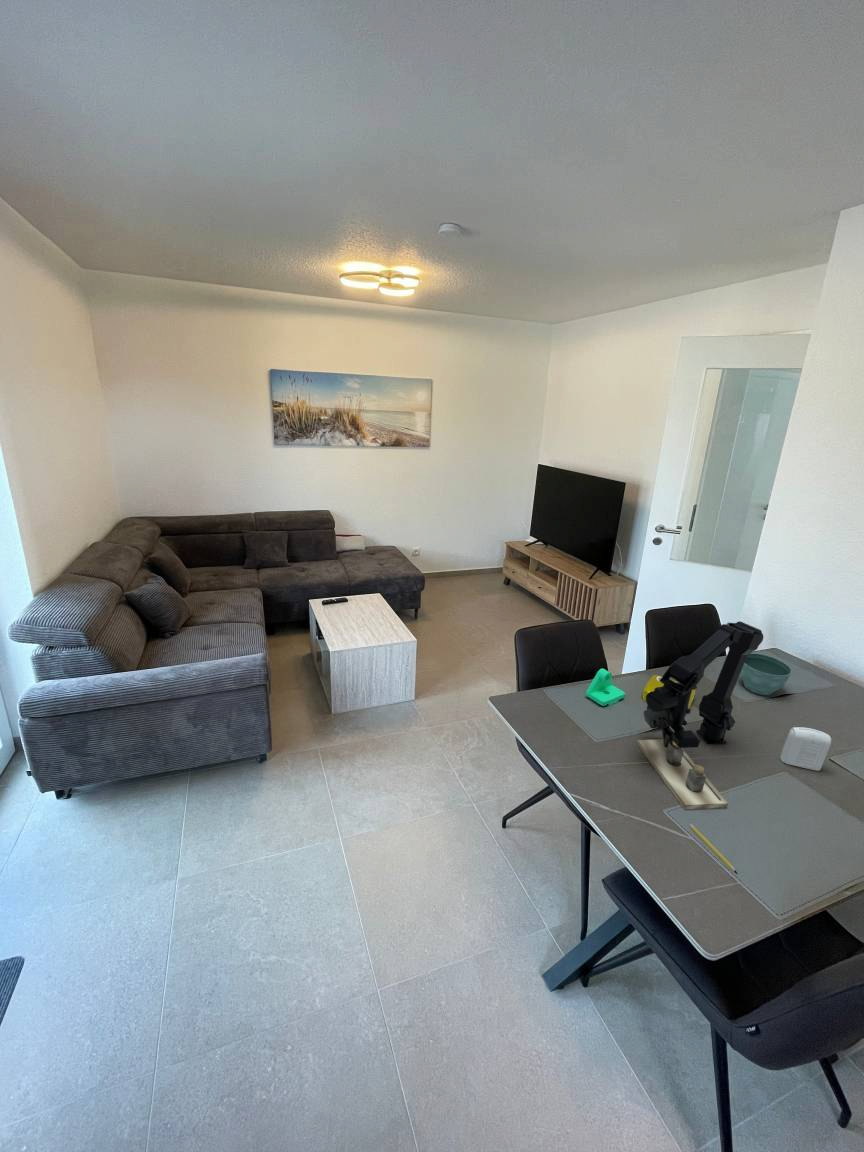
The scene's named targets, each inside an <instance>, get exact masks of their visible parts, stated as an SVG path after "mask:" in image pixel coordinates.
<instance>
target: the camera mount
mask: <svg viewBox="0 0 864 1152" xmlns="http://www.w3.org/2000/svg"><path fill="white" fill-rule="evenodd" d="M612 678H613V673H612V672H610V671H608V670H606V669H605V668H600V669H599V670H598V671H597V672H596V674H595V676H594V677H593V679H592V681H591V683H590V684H589V687H588V689H586V692H585V696H586V697H587V698H589V699H591V700H592V701H594V702H595V703H597V704H599V705H600V706H603V707H605V706H609V705H610V706H612V705H614V704H613V703H615V704H617V703H619V700H622V699H624V698H625V696H626V695H625V694H626V693H625V691H623V690H622V689H620V688H618V687H616V686H615V685H613V682H612ZM616 702H617V703H616ZM607 704H608V705H607ZM611 704H612V705H611Z"/></svg>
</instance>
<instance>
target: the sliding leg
mask: <svg viewBox="0 0 864 1152" xmlns="http://www.w3.org/2000/svg"><path fill="white" fill-rule="evenodd" d="M684 751H685V748H680V747H678V746H677V745H676V744H675V742H674V741H673V743H669V744H668V748H667V752H666V756H665V757H666V758H667V759H668V760H669V762H670V763H671V764H674V763H681V760H682V756H683V753H684Z"/></svg>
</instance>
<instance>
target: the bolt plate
mask: <svg viewBox="0 0 864 1152" xmlns="http://www.w3.org/2000/svg"><path fill="white" fill-rule="evenodd" d="M636 745H637V746H638V748H639V750H641V752H642V754H643V755H644V756H645V758H647V760H648V762H649V763H650V764H651V766H652V767H653V769H654V770H655V771H656V772H657V774H658V775H659V777H660V778H661V779H662V780H663V782H664V784H665V785H666V787H667V788H668V789H669V791H670V792H671V793H672V795H673V796H674V797H675V798H676V800H677V802H678V803H679V804H680V806H681V807H682V808H683V810H684V811H685V810H700V809H701V810H703V809H720V808H719V807H727V808H728V806H729V802H728V801H727V800H726V798H725V797H724V796H723V795H722V794H721V793H720V791H718V789H717V788H716V787H715V786H714V784H713V783H712V782H711V780H710V779H708V777H707V775H706V774H705V773H704V772H705V768H704V767H703V766H702V765H700V764H696V763H695V762H694V761H693V759H692V758H691V757H690V756H689V754H687V752H686V751H685V750H684V753H683V756H682V760H681V763H674V764H671V763H670V762H669V760H668V759H667V758H666V757H665V756H666V752H667V748H665V747H664V743H663V738H662V739H637V741H636ZM717 807H718V808H717Z"/></svg>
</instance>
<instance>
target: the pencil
mask: <svg viewBox="0 0 864 1152" xmlns="http://www.w3.org/2000/svg"><path fill="white" fill-rule="evenodd" d="M688 827H689V828H690V829H691V830H692V832H694V833H695V834H696V835H697V836H698V837H699V839H701V841H702V842H703V843H705V844H706V846H707V847H708V848H709V849H710V850H712V852H713V853H714V854H715V855H716V856H717V857H718V858H719V859H720V860H721V862H723V863H724V864H725V865H726V866H727V868H729V870H732V872H733V873H736V874H738V872H737V869H735V867H734V866H733V865H732V863H731V862H730V861H729V860H728V859H727V858H725V856H724V855H723V854H722V853H721V852H720V851H719V850H718V849H717V848H716V847H715V846H714V845H713V844H712V843H711V842H710V841H709V840H708V839H707V838H706V837H705V836H704V835H703V833H701V832H700V831H699V829H697V828H696V827H695V826H694V825H693V824H692V823H690V824H689V825H688Z"/></svg>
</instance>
